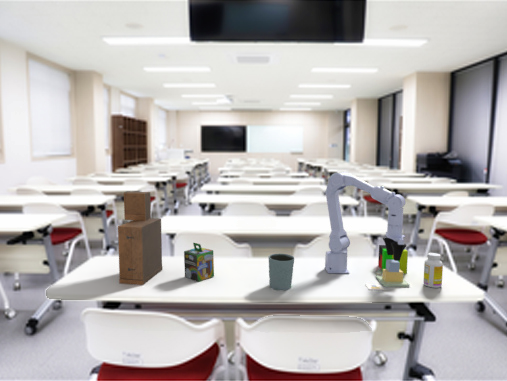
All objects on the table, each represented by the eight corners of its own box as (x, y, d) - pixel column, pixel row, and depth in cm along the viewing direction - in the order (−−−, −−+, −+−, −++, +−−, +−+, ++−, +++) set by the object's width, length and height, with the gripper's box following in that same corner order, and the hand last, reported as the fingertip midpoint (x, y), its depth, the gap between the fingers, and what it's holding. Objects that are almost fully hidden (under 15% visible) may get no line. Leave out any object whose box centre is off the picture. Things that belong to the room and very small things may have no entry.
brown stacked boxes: (132, 268, 169) (130, 191, 165) (162, 269, 167) (160, 192, 163) (110, 282, 150) (107, 196, 146) (143, 285, 148) (140, 197, 144)
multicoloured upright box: (214, 277, 158) (214, 242, 156) (197, 282, 151) (197, 246, 150) (200, 272, 164) (200, 239, 163) (183, 277, 158) (183, 242, 156)
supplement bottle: (443, 285, 150) (445, 254, 149) (439, 289, 145) (441, 257, 144) (425, 281, 154) (427, 251, 153) (421, 285, 149) (422, 254, 148)
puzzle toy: (400, 266, 174) (401, 245, 173) (406, 273, 164) (407, 251, 163) (378, 265, 175) (379, 244, 174) (383, 272, 165) (384, 250, 164)
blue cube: (389, 272, 150) (389, 262, 150) (385, 268, 154) (386, 259, 154) (399, 272, 150) (399, 262, 150) (395, 269, 154) (395, 259, 154)
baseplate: (384, 286, 148) (384, 284, 148) (376, 278, 158) (376, 275, 158) (409, 286, 148) (409, 284, 148) (399, 278, 158) (399, 276, 158)
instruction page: (369, 289, 145) (369, 289, 145) (365, 285, 150) (365, 284, 150) (384, 289, 144) (384, 289, 144) (380, 285, 149) (380, 284, 149)
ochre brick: (385, 281, 151) (386, 272, 150) (382, 278, 155) (382, 268, 154) (402, 281, 151) (403, 272, 150) (399, 278, 155) (399, 269, 154)
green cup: (268, 281, 153) (268, 253, 151) (292, 282, 152) (293, 253, 151) (268, 291, 143) (268, 260, 141) (294, 291, 142) (295, 261, 141)
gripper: (412, 228, 143) (410, 263, 144) (398, 221, 157) (396, 252, 159) (393, 228, 143) (392, 262, 145) (381, 221, 158) (380, 252, 159)
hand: (393, 257), depth 152 cm, fingers open, 7 cm apart
